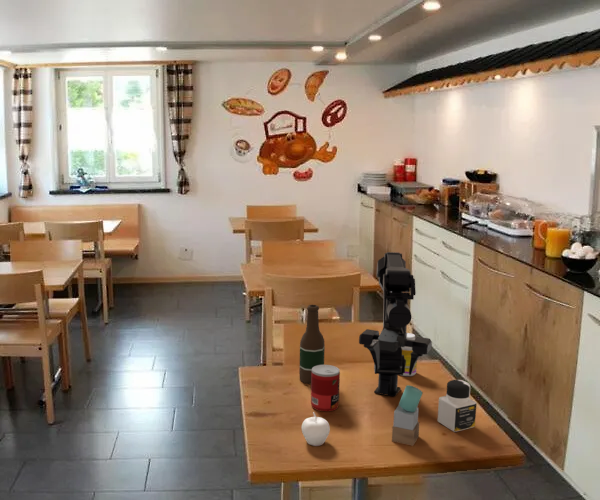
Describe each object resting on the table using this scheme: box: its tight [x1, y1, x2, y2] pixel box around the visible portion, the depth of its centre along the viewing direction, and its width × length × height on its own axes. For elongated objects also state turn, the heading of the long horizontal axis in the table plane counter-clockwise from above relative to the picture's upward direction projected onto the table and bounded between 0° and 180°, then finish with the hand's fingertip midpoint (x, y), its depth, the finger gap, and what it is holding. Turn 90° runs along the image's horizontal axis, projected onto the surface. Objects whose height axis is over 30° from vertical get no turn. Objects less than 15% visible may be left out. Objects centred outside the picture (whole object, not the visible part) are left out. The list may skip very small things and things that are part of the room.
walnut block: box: [391, 421, 420, 447], centre depth 165 cm, size 6×6×4 cm
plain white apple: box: [301, 411, 331, 447], centre depth 162 cm, size 7×7×8 cm
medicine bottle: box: [437, 379, 477, 433], centre depth 173 cm, size 7×7×12 cm
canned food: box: [310, 364, 341, 412], centre depth 183 cm, size 8×8×11 cm
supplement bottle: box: [401, 332, 418, 377], centre depth 209 cm, size 7×7×13 cm
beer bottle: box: [298, 304, 326, 385], centre depth 201 cm, size 8×8×24 cm
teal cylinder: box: [398, 385, 423, 412], centre depth 164 cm, size 4×4×5 cm
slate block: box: [392, 404, 419, 430], centre depth 165 cm, size 5×5×4 cm
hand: (393, 371), depth 176 cm, fingers open, 9 cm apart
